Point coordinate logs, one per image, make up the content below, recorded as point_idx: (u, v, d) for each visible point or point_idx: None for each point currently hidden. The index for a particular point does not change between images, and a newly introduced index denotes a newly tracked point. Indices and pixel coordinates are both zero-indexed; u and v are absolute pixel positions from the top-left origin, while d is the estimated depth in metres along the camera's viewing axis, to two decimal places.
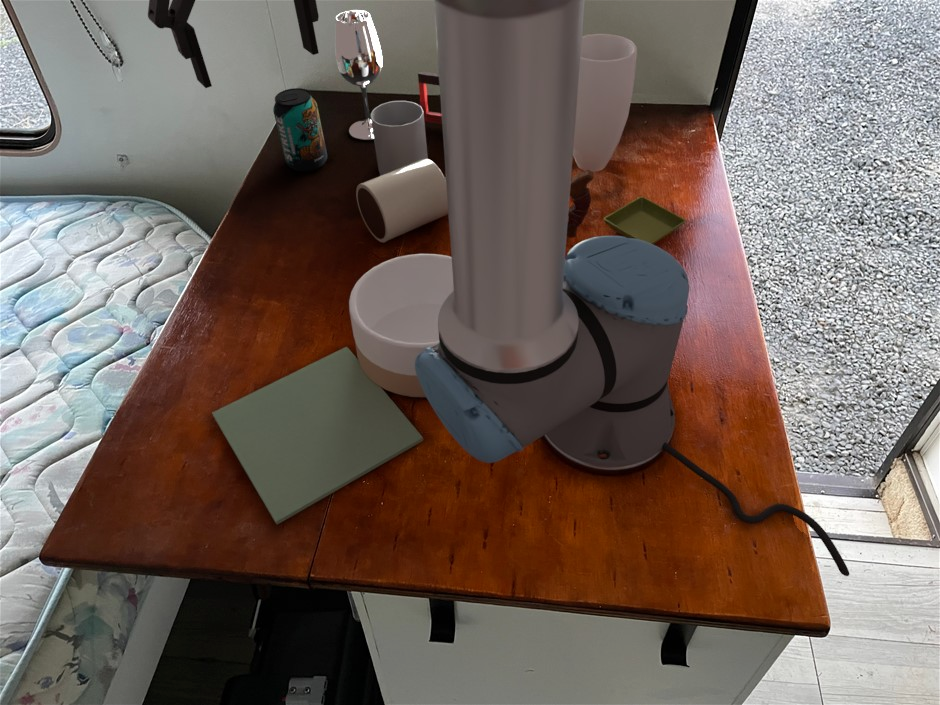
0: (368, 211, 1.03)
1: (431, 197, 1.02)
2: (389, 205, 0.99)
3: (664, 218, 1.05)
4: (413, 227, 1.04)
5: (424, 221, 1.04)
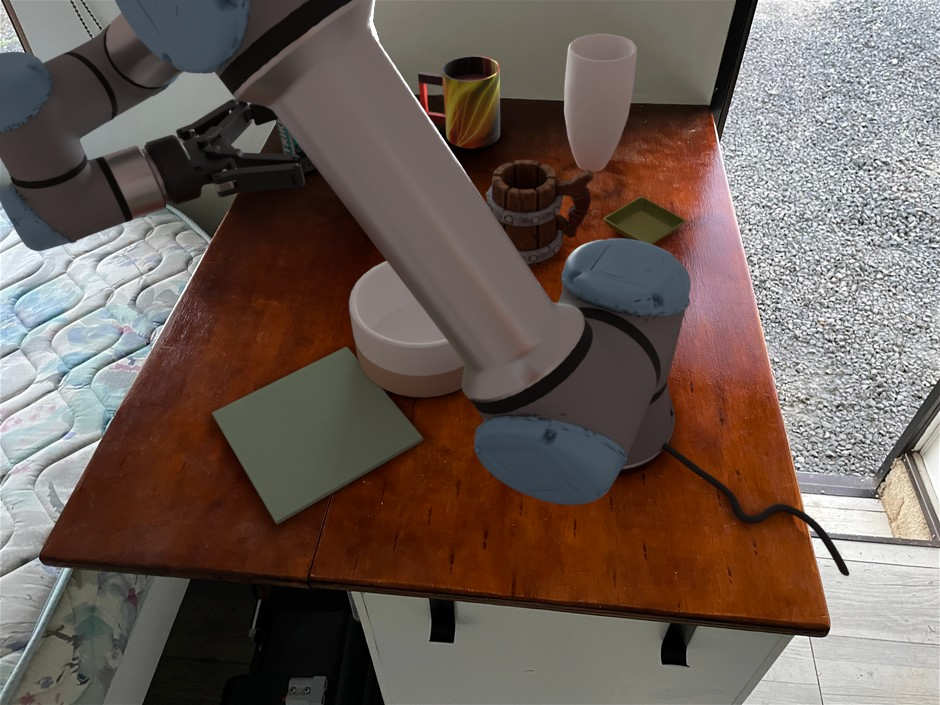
0: None
1: None
2: None
3: (664, 218, 1.05)
4: None
5: None
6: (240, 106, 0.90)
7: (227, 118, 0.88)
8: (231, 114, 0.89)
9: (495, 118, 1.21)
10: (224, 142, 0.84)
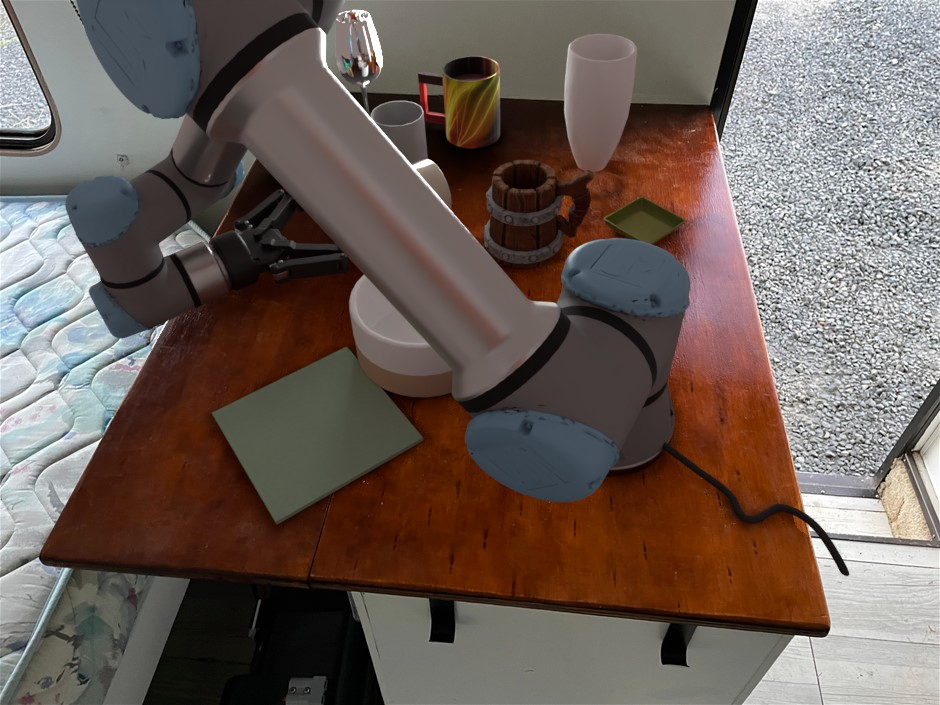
0: None
1: None
2: None
3: (664, 218, 1.05)
4: None
5: None
6: (287, 196, 1.02)
7: (276, 209, 1.00)
8: (280, 204, 1.00)
9: (495, 118, 1.21)
10: (276, 233, 0.96)
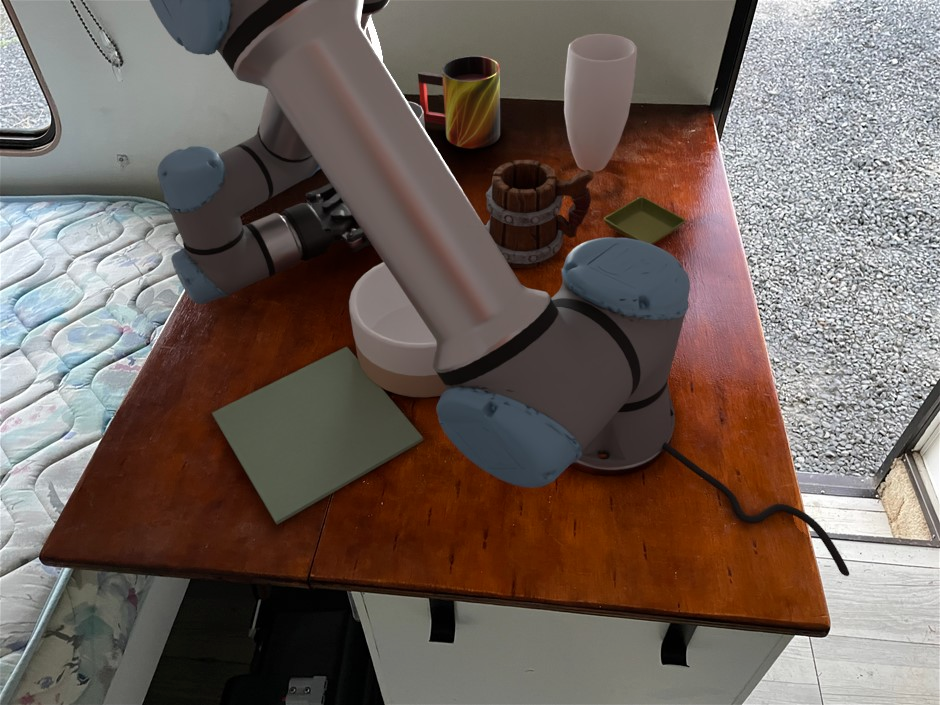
0: None
1: None
2: None
3: (664, 218, 1.05)
4: None
5: None
6: None
7: None
8: None
9: (495, 118, 1.21)
10: (344, 206, 1.00)
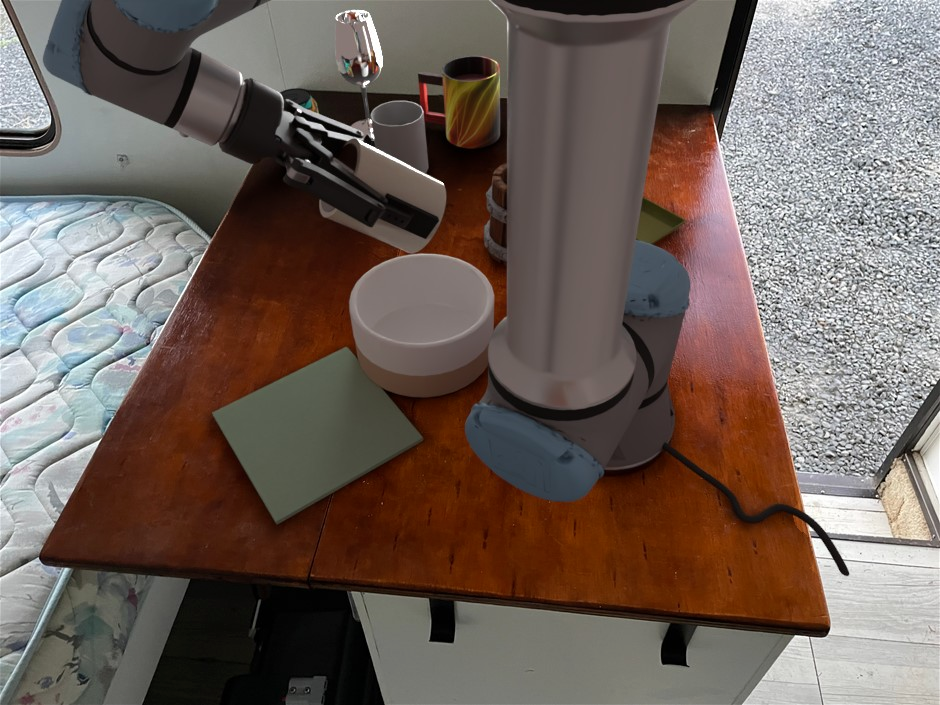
0: None
1: None
2: (367, 180, 0.73)
3: (664, 218, 1.05)
4: (369, 230, 0.77)
5: (386, 234, 0.77)
6: (362, 141, 0.80)
7: (341, 135, 0.77)
8: (349, 137, 0.78)
9: (495, 118, 1.21)
10: (317, 140, 0.73)
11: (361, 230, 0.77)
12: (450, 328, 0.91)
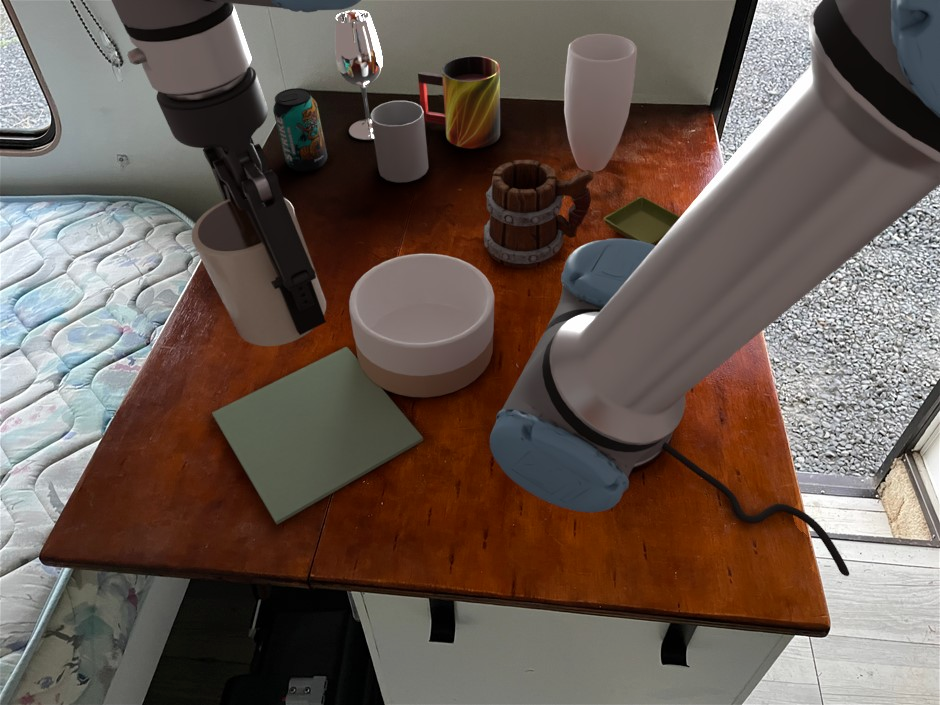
0: (239, 217, 0.62)
1: None
2: None
3: (664, 218, 1.05)
4: (250, 295, 0.62)
5: (263, 309, 0.63)
6: None
7: None
8: None
9: (495, 118, 1.21)
10: None
11: (238, 291, 0.61)
12: (450, 328, 0.91)
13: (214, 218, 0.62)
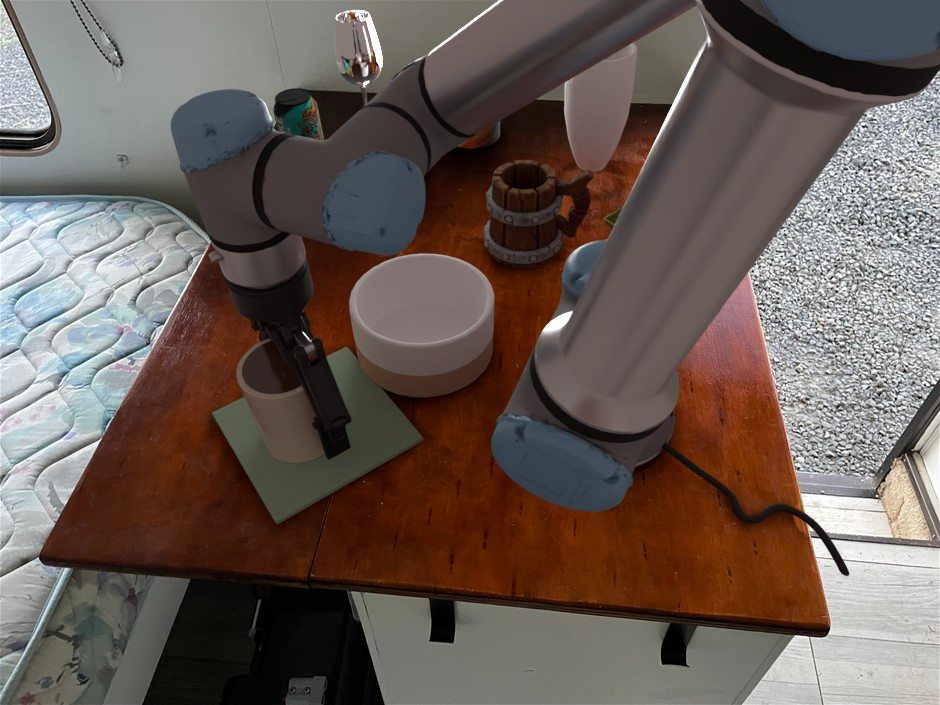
0: (277, 360, 0.73)
1: None
2: None
3: None
4: (285, 426, 0.73)
5: (294, 436, 0.74)
6: None
7: None
8: None
9: None
10: None
11: (275, 423, 0.72)
12: (450, 328, 0.91)
13: (255, 359, 0.73)
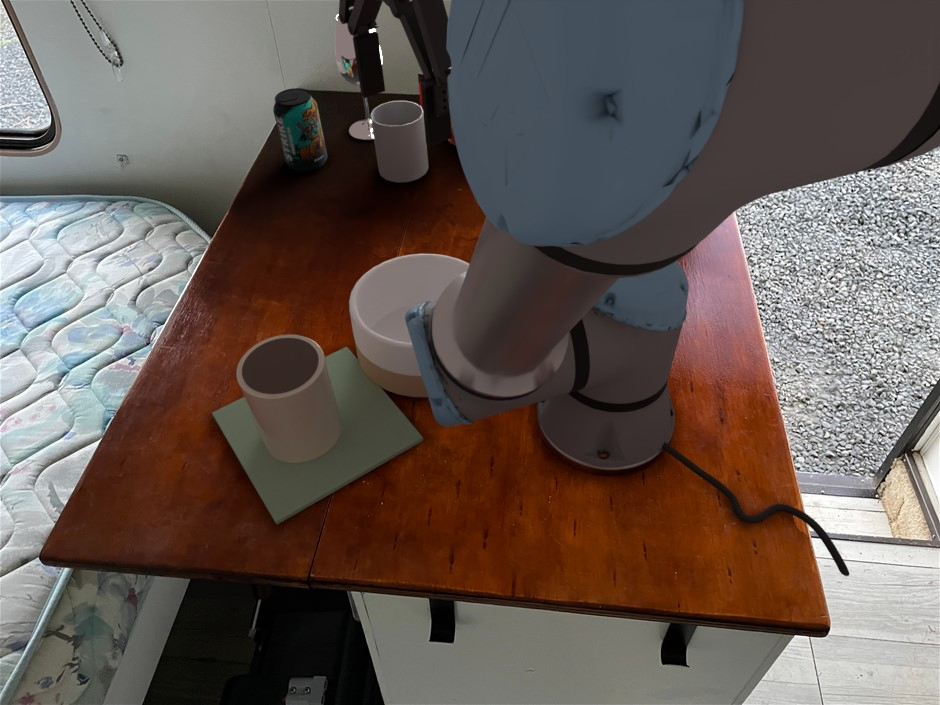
0: (277, 360, 0.73)
1: (326, 430, 0.76)
2: (322, 382, 0.73)
3: None
4: (285, 426, 0.73)
5: (294, 436, 0.74)
6: None
7: None
8: None
9: None
10: None
11: (275, 423, 0.72)
12: None
13: (255, 359, 0.73)
